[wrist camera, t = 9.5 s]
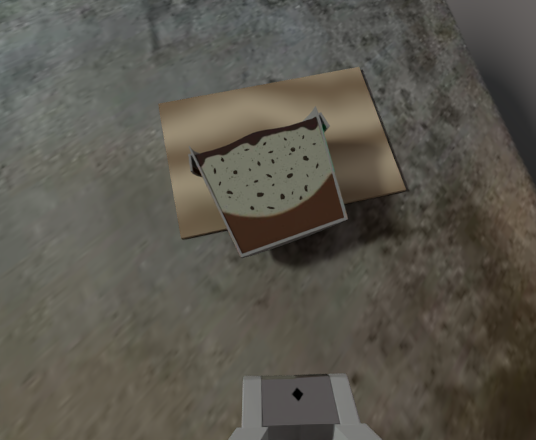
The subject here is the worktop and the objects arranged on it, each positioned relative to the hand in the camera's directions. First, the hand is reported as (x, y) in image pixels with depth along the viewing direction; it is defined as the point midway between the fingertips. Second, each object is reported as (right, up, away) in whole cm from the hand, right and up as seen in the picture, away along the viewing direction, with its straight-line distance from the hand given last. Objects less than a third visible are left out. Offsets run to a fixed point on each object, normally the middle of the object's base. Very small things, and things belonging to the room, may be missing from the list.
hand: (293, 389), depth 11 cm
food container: (+1, +3, +23) cm, 23 cm away
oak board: (0, +12, +28) cm, 31 cm away
